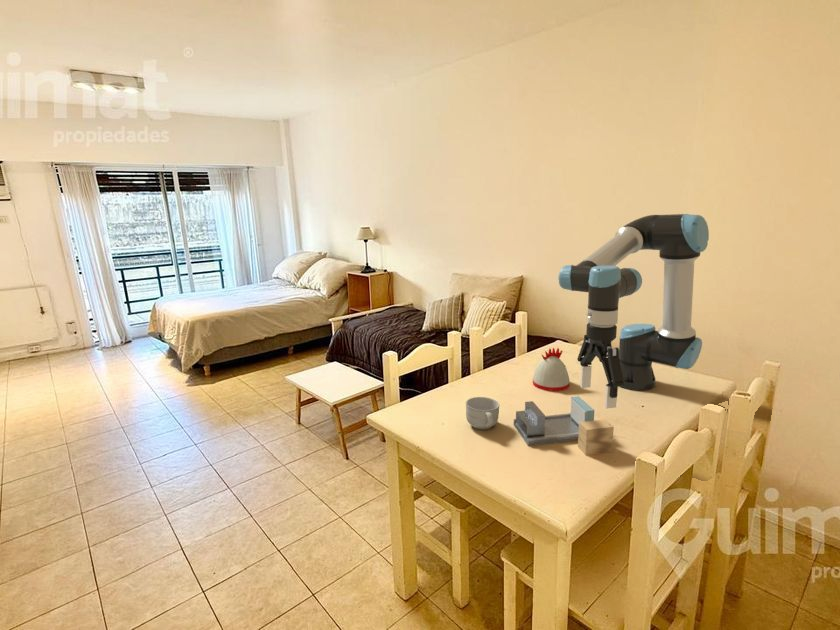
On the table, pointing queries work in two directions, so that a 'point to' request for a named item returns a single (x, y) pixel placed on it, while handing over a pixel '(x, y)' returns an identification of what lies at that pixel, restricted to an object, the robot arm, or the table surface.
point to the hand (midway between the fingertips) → (597, 396)
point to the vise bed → (554, 430)
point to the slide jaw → (581, 410)
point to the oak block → (595, 437)
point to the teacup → (482, 412)
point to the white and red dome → (551, 373)
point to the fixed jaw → (531, 420)
